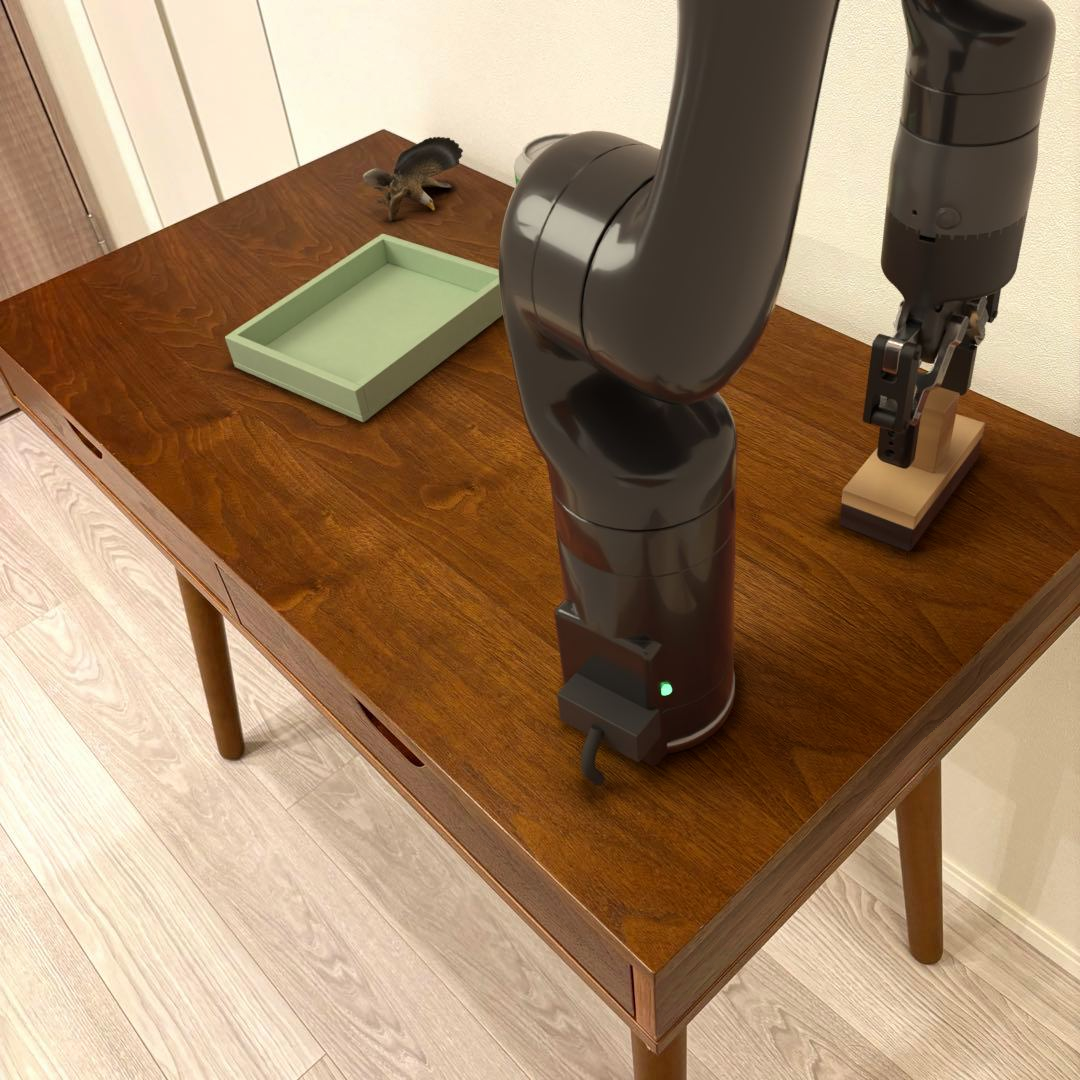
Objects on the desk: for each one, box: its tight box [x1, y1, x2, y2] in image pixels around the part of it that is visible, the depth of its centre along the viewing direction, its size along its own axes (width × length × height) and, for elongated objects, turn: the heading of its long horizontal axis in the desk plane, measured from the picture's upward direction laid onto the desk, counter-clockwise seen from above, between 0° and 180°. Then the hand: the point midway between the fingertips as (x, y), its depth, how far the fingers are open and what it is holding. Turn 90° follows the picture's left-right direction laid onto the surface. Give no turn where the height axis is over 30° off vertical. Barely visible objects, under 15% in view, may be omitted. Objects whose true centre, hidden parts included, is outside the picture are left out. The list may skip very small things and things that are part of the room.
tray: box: [224, 233, 503, 423], centre depth 99 cm, size 20×16×3 cm
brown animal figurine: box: [362, 136, 464, 222], centre depth 115 cm, size 8×7×9 cm
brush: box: [839, 385, 986, 552], centre depth 75 cm, size 11×5×8 cm, turn 142°
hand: (923, 425), depth 75 cm, fingers open, 8 cm apart
